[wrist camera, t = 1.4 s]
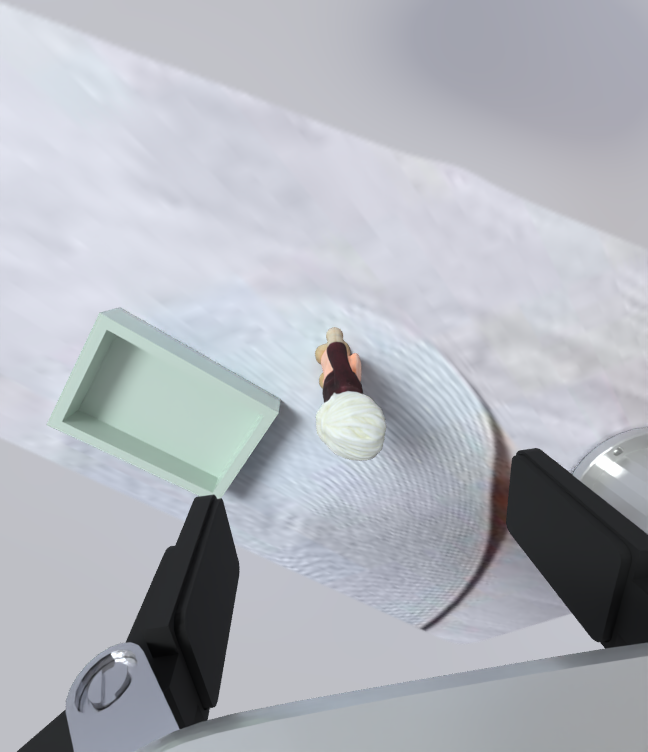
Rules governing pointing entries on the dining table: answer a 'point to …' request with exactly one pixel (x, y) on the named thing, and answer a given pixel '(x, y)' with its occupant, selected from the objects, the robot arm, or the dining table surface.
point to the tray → (162, 406)
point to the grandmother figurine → (346, 404)
